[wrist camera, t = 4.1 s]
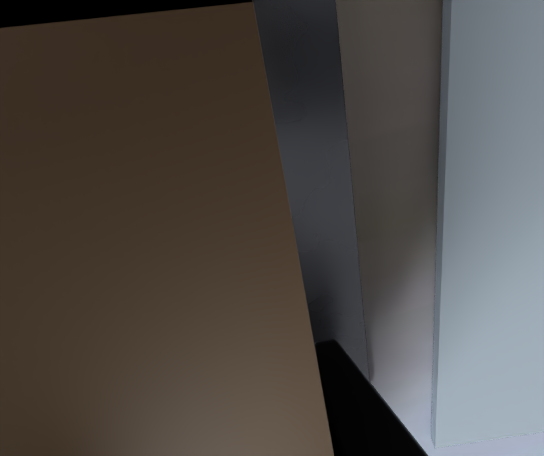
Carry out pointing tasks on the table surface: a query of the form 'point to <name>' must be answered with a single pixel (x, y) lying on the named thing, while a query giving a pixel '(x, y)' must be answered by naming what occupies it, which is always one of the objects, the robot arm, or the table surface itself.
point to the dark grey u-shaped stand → (316, 162)
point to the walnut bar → (147, 238)
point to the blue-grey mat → (490, 224)
